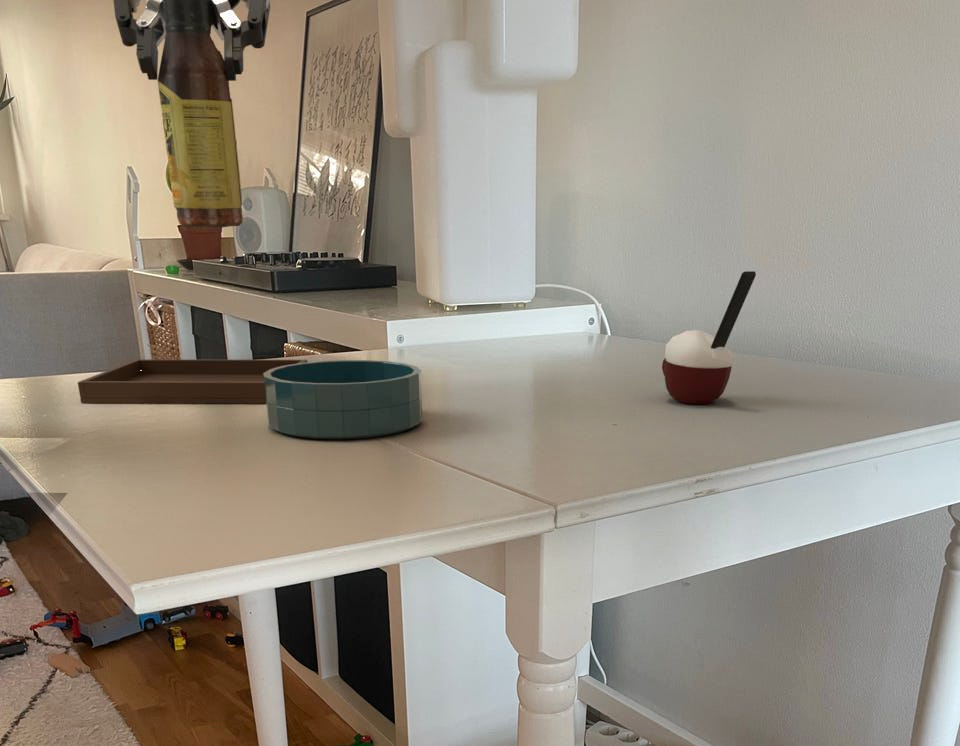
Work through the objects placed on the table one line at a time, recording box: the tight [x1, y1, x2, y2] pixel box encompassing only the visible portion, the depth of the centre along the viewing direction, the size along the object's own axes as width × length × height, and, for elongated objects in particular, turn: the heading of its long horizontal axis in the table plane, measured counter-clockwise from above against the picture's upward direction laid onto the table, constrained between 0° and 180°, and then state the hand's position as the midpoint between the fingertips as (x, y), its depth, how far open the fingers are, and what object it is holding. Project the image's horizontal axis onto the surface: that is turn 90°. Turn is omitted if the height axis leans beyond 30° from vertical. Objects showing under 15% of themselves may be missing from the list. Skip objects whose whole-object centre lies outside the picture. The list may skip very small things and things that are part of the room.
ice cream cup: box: [661, 270, 757, 405], centre depth 91 cm, size 10×6×12 cm, turn 10°
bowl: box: [263, 359, 423, 440], centre depth 84 cm, size 13×13×4 cm
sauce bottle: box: [157, 0, 244, 229], centre depth 87 cm, size 6×6×20 cm
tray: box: [77, 358, 309, 405], centre depth 100 cm, size 19×15×2 cm
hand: (190, 71), depth 84 cm, fingers closed on sauce bottle, 6 cm apart
